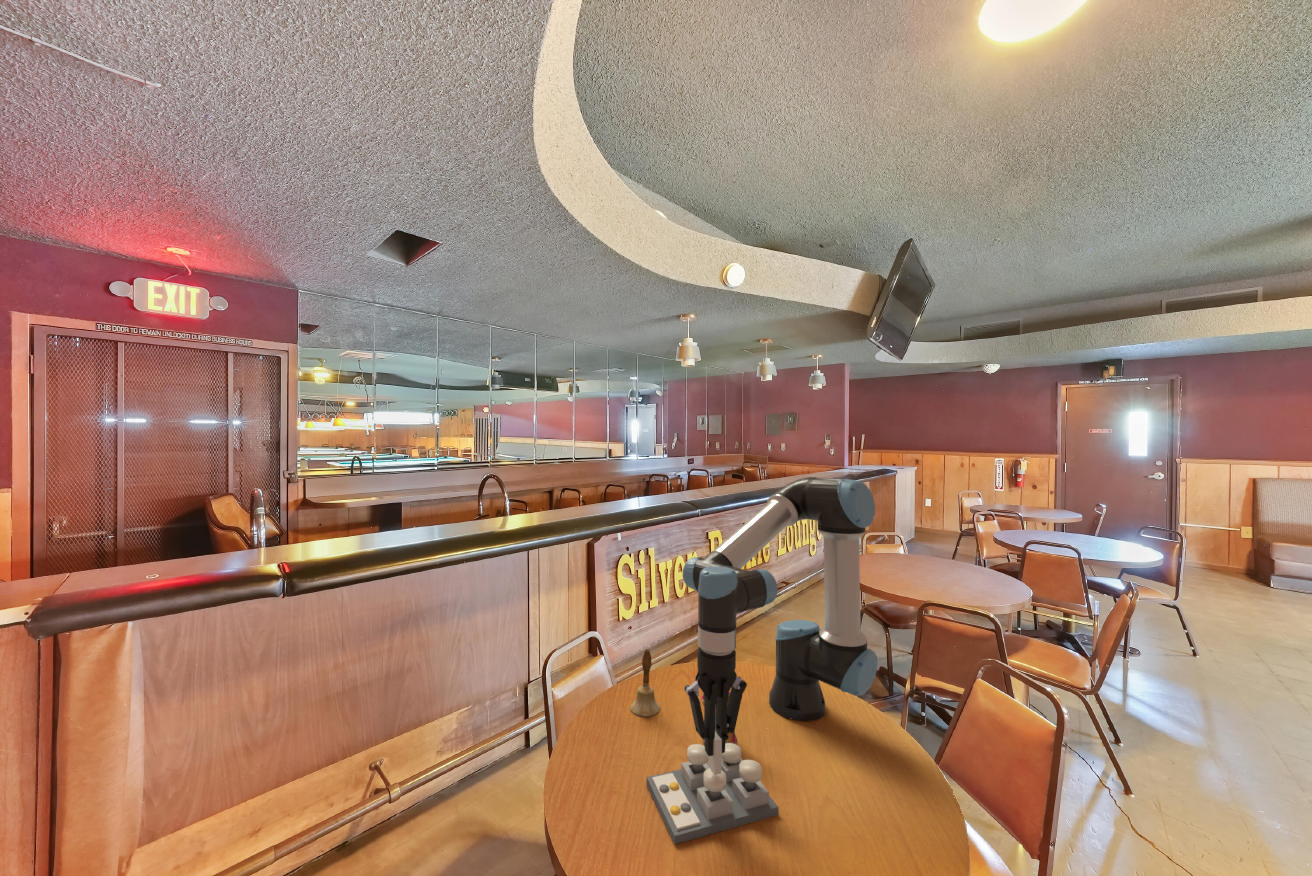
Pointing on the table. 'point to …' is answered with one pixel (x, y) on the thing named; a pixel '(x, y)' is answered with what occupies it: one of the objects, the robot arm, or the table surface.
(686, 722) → the table surface
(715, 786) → the button
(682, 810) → the board
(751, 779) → the button
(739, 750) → the button
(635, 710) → the hand bell
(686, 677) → the table surface
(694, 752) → the button
